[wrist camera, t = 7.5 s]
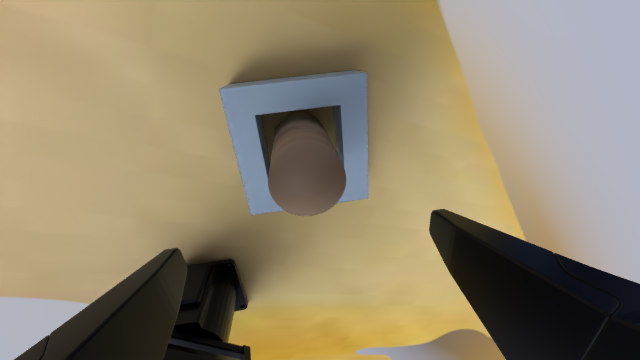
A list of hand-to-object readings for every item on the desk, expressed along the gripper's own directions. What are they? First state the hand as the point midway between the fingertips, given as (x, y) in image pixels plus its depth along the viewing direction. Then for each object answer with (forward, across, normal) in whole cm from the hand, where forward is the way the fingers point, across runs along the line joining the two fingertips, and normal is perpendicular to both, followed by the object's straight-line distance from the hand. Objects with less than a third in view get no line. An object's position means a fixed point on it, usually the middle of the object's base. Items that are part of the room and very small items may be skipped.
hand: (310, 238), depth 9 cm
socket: (+12, 0, 0) cm, 12 cm away
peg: (+12, 0, 0) cm, 13 cm away
